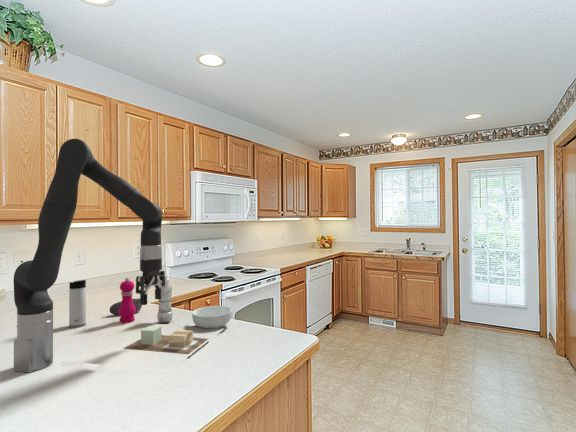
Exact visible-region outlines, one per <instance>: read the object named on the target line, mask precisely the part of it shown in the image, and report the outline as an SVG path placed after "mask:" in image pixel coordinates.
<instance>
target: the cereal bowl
mask: <svg viewBox="0 0 576 432" xmlns="http://www.w3.org/2000/svg"><path fill="white" fill-rule="evenodd" d="M191 315H192V321H193V323H194V325H196V326H197V327H199V328H203V329H220V328H222V327H224V326H225V325H227V324H228V323H230V321H231V319H232V316H233V309H232V308H231V307H229V306H226V305H212V306H211V305H210V306H203V307H199V308H196V309H193V311H192V313H191Z"/></svg>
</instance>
